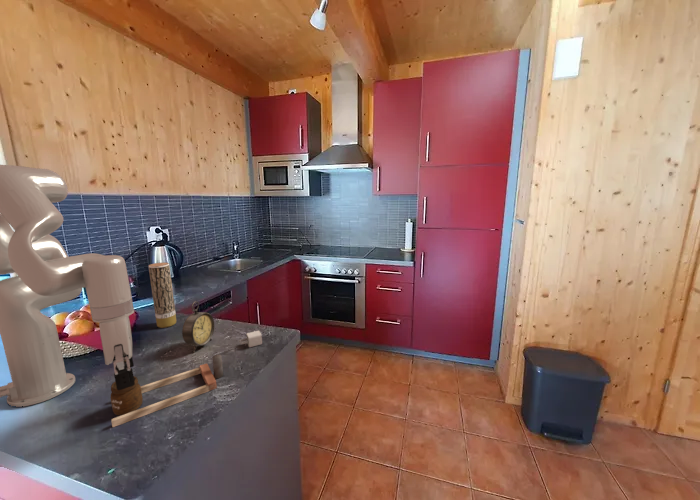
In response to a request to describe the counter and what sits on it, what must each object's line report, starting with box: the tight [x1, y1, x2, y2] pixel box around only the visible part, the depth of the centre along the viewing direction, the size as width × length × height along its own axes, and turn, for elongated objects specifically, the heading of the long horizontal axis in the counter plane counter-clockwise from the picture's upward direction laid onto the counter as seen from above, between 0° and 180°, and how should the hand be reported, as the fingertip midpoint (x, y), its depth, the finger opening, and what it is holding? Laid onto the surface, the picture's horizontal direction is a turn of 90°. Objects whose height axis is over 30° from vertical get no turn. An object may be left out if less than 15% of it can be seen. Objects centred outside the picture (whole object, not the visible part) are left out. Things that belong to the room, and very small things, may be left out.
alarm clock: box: [181, 300, 215, 354], centre depth 99 cm, size 11×5×16 cm, turn 168°
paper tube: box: [148, 262, 177, 329], centre depth 115 cm, size 7×7×25 cm
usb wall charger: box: [238, 330, 263, 348], centre depth 101 cm, size 4×7×4 cm, turn 121°
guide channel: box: [110, 354, 224, 428], centre depth 77 cm, size 25×11×6 cm, turn 127°
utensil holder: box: [110, 375, 144, 416], centre depth 70 cm, size 6×6×12 cm
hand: (126, 377), depth 70 cm, fingers open, 9 cm apart
